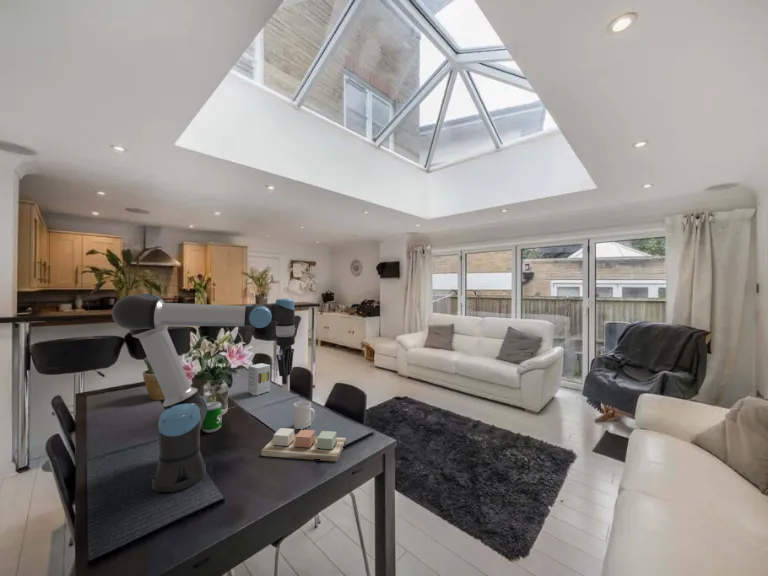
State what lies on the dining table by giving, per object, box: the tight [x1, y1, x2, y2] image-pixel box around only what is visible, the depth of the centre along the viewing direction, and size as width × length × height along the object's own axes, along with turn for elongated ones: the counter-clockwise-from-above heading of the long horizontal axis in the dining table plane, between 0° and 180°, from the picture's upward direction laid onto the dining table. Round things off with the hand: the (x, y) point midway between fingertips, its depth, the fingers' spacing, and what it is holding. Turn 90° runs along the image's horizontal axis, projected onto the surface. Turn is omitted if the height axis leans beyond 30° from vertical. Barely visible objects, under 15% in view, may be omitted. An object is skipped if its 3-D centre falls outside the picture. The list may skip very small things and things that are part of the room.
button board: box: [260, 433, 347, 462], centre depth 124 cm, size 14×30×2 cm, turn 83°
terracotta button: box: [295, 429, 316, 449], centre depth 124 cm, size 6×6×4 cm
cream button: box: [273, 427, 295, 447], centre depth 125 cm, size 6×6×4 cm
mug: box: [293, 400, 316, 430], centre depth 143 cm, size 12×8×10 cm, turn 53°
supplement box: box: [247, 362, 271, 395], centre depth 188 cm, size 10×9×17 cm
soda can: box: [202, 400, 223, 434], centre depth 140 cm, size 8×8×12 cm
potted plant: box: [142, 356, 165, 401], centre depth 180 cm, size 18×19×25 cm
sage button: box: [317, 430, 337, 450], centre depth 123 cm, size 6×6×4 cm
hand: (285, 390), depth 131 cm, fingers closed
